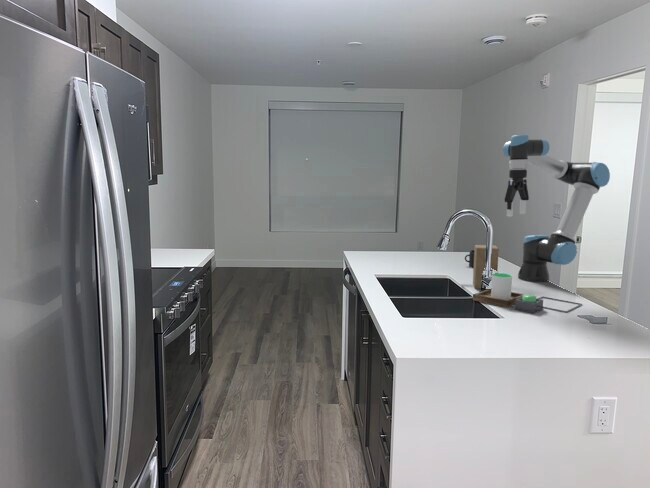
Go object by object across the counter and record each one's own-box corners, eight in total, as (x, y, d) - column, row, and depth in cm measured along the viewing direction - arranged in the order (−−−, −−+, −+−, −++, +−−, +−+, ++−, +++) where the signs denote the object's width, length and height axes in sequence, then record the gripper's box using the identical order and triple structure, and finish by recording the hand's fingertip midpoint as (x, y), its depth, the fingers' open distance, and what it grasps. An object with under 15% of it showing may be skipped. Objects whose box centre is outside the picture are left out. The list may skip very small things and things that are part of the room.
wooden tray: (491, 294, 226) (491, 288, 225) (525, 300, 214) (525, 294, 214) (472, 300, 215) (473, 294, 214) (507, 307, 203) (508, 301, 203)
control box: (523, 305, 207) (524, 296, 206) (542, 309, 201) (543, 300, 200) (514, 309, 201) (515, 299, 200) (533, 313, 195) (534, 303, 195)
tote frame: (542, 297, 220) (542, 296, 220) (582, 304, 208) (582, 303, 208) (525, 304, 209) (525, 303, 208) (566, 312, 196) (566, 311, 196)
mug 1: (463, 264, 295) (464, 249, 294) (484, 265, 293) (485, 250, 291) (464, 267, 286) (465, 252, 285) (486, 268, 284) (487, 253, 282)
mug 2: (486, 293, 221) (487, 271, 219) (505, 294, 220) (506, 271, 219) (493, 300, 209) (495, 277, 208) (513, 301, 209) (514, 277, 207)
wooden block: (496, 290, 233) (498, 248, 230) (474, 289, 235) (476, 247, 232) (493, 285, 243) (495, 245, 240) (472, 284, 245) (474, 244, 242)
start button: (525, 304, 204) (526, 294, 204) (537, 307, 201) (538, 296, 200) (519, 306, 201) (520, 296, 200) (532, 309, 197) (532, 298, 196)
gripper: (521, 168, 237) (520, 212, 241) (497, 169, 220) (496, 217, 224) (537, 168, 232) (535, 213, 236) (514, 169, 215) (512, 218, 218)
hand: (516, 215), depth 230 cm, fingers open, 13 cm apart
